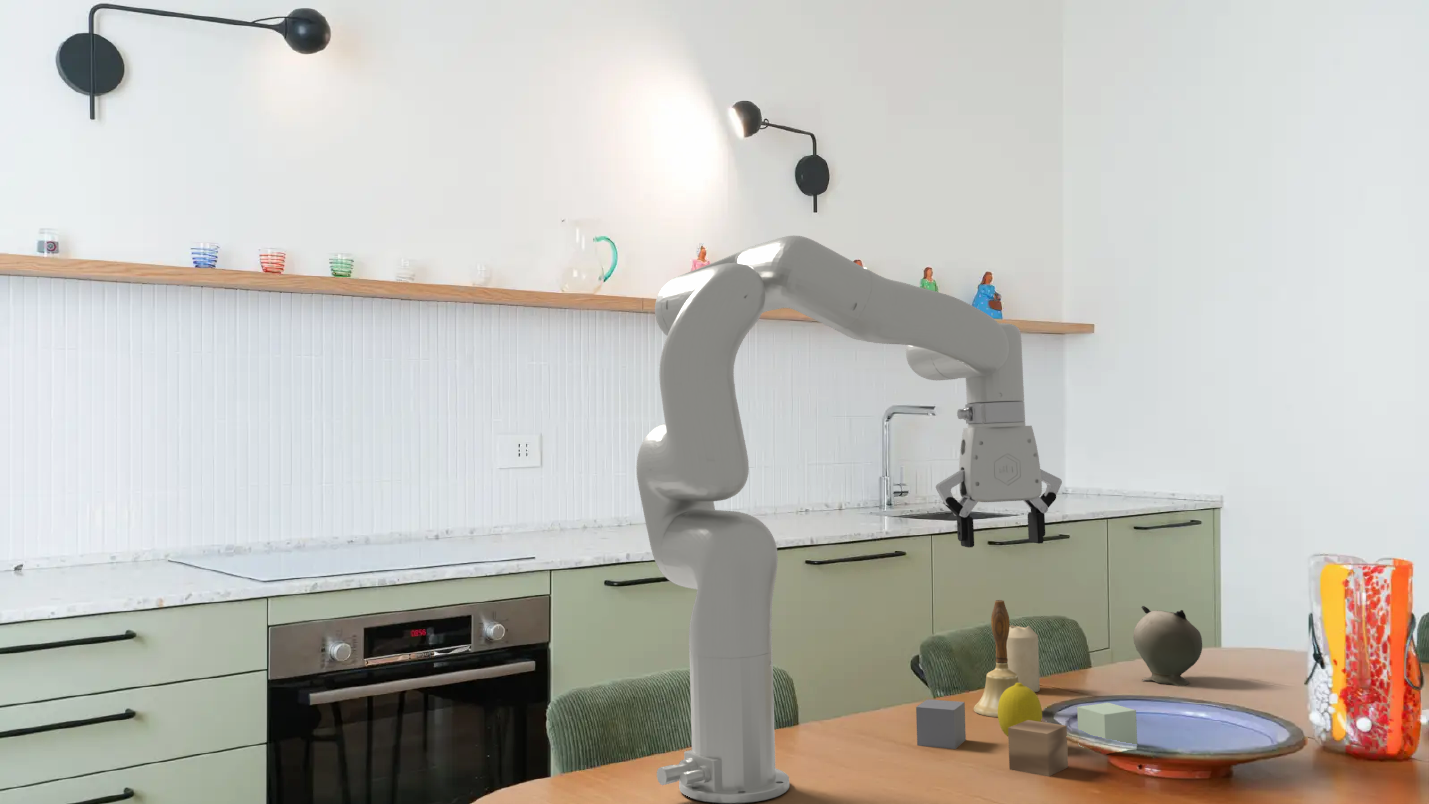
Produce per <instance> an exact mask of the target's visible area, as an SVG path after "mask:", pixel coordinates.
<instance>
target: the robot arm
mask: <svg viewBox="0 0 1429 804" xmlns="http://www.w3.org/2000/svg"><path fill="white" fill-rule="evenodd" d="M784 308H788V309H791V310H794V311H796V312H798V313H800V314H802V315H805V316H806V317H809V318H811V319H813V320H815V321H817V322H819V323H820V324H823V325H825V326H827V327H829V328H830V329H833V330H834V331H837V332H839V333H841V334H843V335H844V336H847V337H849V338H850V339H854V340H856V341H862V342H868V343H874V344H887V345H902V346H903V345H905V346H906V348H905V349H906V350H905V357H906V361H907V364H908V365H909V367H910V368H911V370H912V371H913V372H914V374H917V375H918V376H920V377H921V378H923V379H926V380H929V381H930V380H931V381H949V380H950V381H952V380H957V379H965V390H966V392H965V393H966V404H965V406H964V407H963V408H959V409H957V412H956V414H957V415H956V416H957V419H958V420H964V421H965V423H966V424H967V427H964V428H963V429H962V435H961V442H960V450H959V461H958V462H959V466H958V471H957V472H955V473H953V474H951V475H949V476H948V477H947V478H945V479H943V480H942V481H939V482H938V483H937V484H936V485H935V490H936V491H937V494H938V495H939V496H940V498H941V500H942V503H943V505H944V506H945V507H946V508H947V509H949V510H950V512H952V514H953V515H954V516H956V530H957V531H956V533H957V540H958V541H959V542H960V545H961V547H964V548H969V549H970V548H973V547H975V531H974V530H975V529H974V527H975V526H974V518H973V517H972V516H970V515H971V514H970V513H972V510H974V508H975V506H976V505H977V503H978V502H979V503H997V502H1000V503H1001V502H1020V501H1023V502H1024V503H1025V504H1026V506H1028V508H1029V509H1030V511H1029V512H1028V513H1027V530H1028V531H1027V532H1028V533H1027V534H1028V541H1029V542H1030V543H1034V544H1044V537H1045V535H1046V522H1045V521H1046V520H1045V514H1046V513H1048V511H1049V508H1050V506H1051V505H1052V504H1053V503H1054V502H1055V501H1056V500H1057V494H1058V493H1059V491H1060V488H1061V486H1062V484H1063V481H1062V479H1061V478H1059V477H1058V476H1055V475H1053V474H1051V473H1049V472H1048V471H1046V470H1043V469H1041V464H1040V458H1039V457H1040V456H1039V452H1038V450H1039V449H1038V445H1037V442H1036V436H1035V433H1034V432H1035V431H1034V429H1033V427H1032V426H1033V425H1026V412H1025V411H1026V409H1025V407H1026V406H1025V390H1024V389H1025V388H1024V372H1023V371H1024V370H1023V345H1022V335H1021V330H1020V328H1019V327H1018V326H1016V325H1014V324H1012V323H1004V322H1003V323H1001V322H998V321H997V320H995V318H993V317H992V316H990V315H989V314H987V312H984V311H982V310H981V309H979V308H977V307H975V306H973V305H971V304H970V303H968V302H966V301H964V300H961V299H960V298H957V297H954V296H952V295H949V294H945V293H943V292H939V291H936V290H932V289H928V288H923V287H920V286H916V285H914V284H909V283H905V282H902V281H897V280H893V279H889V278H885V277H884V276H881V275H879V274H878V273H876V272H873V271H872V270H869V269H868V268H867V267H863V266H862V265H860V264H858V263H856V262H854V261H853V260H851V259H848V258H847V257H846V256H843V255H841V254H840V253H838V252H836V251H834V250H832V249H831V248H828V247H826V246H825V245H824V244H822V243H819V242H817V241H815V240H813V239H811V238H808V237H805V236H801V235H785V236H781V237H779V238H778V237H777V238H775V239H772V240H769V241H765V242H762V243H758V244H754V245H752V246H750V247H747V248H745V249H742V250H740V251H738V252H735V253H732V254H731V255H729V256H727V257H724V258H722V259H719V260H716V261H714V262H712V263H710V264H706V265H704V266H701V267H699V268H696V269H694V270H691V271H688V272H686V273H683V274H681V275H678V276H676V277H673V278H672V279H670V280H669V281H667V283H665V284H664V285H663V286H662V288H661V289H660V291H659V292H658V294H657V295H656V300H655V304H654V314H655V315H654V317H655V320H656V322H657V325H658V326H659V329H660V330H661V331H662V332H663V334H664V335H666V338H665V341H664V344H663V348H662V351H661V356H660V361H659V362H660V363H659V387H660V395H661V402H662V404H661V405H662V411H663V417H664V423H663V424H660V425H658V426H655V427H654V428H653V429H652V430H650V431H649V433H648V434H647V435H646V436H645V437H644V439H643V440H642V442H641V444H640V447H639V450H638V453H637V460H636V480H637V486H638V491H639V495H640V496H639V497H640V500H641V507H642V511H643V517H644V522H645V526H646V530H647V535H648V541H649V546H650V550H651V553H652V556H653V559H654V562H655V564H656V567H657V568H658V569H659V571H660V573H661V574H662V575H663V576H664V577H665V579H667V580H668V581H670V582H671V583H673V584H674V585H677V586H679V587H683V588H686V589H687V588H688V589H691V590H696V594H695V600H694V603H693V605H692V606H693V607H692V611H691V616H690V620H689V627H688V648H689V651H688V653H689V676H690V677H689V682H690V683H689V684H690V685H689V687H690V721H691V723H690V724H691V725H690V726H691V749H690V750H686V751H683V754H684V755H683V756H684V757H683V758H684V759H682V760H680V761H679V763H678V764H670V765H666V766H661V767H659V768H657V771H656V778H657V782H658V783H659V785H661V786H664V785H671V784H674V783H677V782H679V783H678V784H679V786H678V789H679V791H680V793H682V795H684V796H685V795H686V797H687V796H688V798H689V797H690V799H692V800H696V801H700V802H706V803H712V804H714V803H715V804H747V803H757V802H761V801H762V802H763V801H767V800H770V799H771V800H772V799H774V798H777V797H779V796H781V795H784V793H786V792H787V791H788V790H789V788H790V776H789V775H788V774H787V773H786V772H785V771H784V770H780V769H779V768H777V767H776V743H775V742H776V740H775V739H776V738H775V709H774V708H775V707H774V706H775V705H774V697H775V696H774V672H773V671H774V669H773V665H774V664H773V662H774V661H773V659H774V658H773V640H772V639H773V638H772V635H773V632H772V631H773V630H772V627H773V626H772V624H773V622H772V619H773V618H772V616H773V615H772V614H773V601H774V599H773V598H774V593H775V591H774V590H775V585H776V579H777V572H778V565H779V557H778V554H779V553H778V547H777V543H776V541H775V540H776V539H775V537H774V535H773V533H772V532H771V531H770V529H769V527H768V526H766V524H765V523H764V522H762V521H761V520H760V519H758V518H756V517H755V516H753V515H751V514H748V513H744V512H740V511H734V510H720V509H719V510H717V509H716V508H715V507H716V506H715V502H720V501H725V500H728V499H730V498H733V497H735V496H736V495H737V494H739V493H740V492H741V491H742V489H744V487H745V485H746V483H747V481H748V478H749V472H750V471H749V468H750V467H749V457H748V455H749V454H748V451H747V446H746V440H745V435H744V430H743V425H742V419H741V416H740V415H741V413H740V411H739V405H738V400H737V394H736V386H735V385H736V384H735V379H734V378H735V377H734V374H735V373H734V369H735V363H736V358H737V354H738V353H739V352H738V351H739V348H740V347H741V345H742V343H743V342H744V340H745V338H746V337H747V335H748V334H749V332H750V331H751V330H752V328H753V327H754V326H755V325H756V324H757V323H758V321H759V320H760V317H761V316H762V314H764V313H767V312H770V311H775V310H781V309H784ZM1043 483H1045V484H1046V488H1045V492H1043V490H1042V489H1043ZM957 485H958V487H959V494H960V497H961V498H960V500H959V501H958V500H957V499H956V498H955V497H954V496H953V494H952V489H953V488H954V487H955V486H957ZM1042 492H1043V493H1042Z"/></svg>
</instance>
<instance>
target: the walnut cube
mask: <svg viewBox="0 0 1429 804" xmlns="http://www.w3.org/2000/svg"><path fill="white" fill-rule="evenodd" d="M1067 731H1068V729H1067V725H1066V724H1058V723H1052V722H1044V721H1042V722H1039V721H1032V720H1027V721H1024V722H1022V723H1019V724H1017V725H1014V726H1011V727H1009V728H1008V736H1007V738H1008V739H1007V740H1008V762H1009V763H1008V766H1009V768H1008V769H1009V771H1015V772H1021V773H1025V774H1032V775H1038V776H1044V777H1051V776H1052V775H1055V774H1057V773H1059V772H1061V771H1063V770H1065V769H1067V768H1069V760H1068V759H1069V758H1068V757H1069V756H1068V754H1069V753H1068V732H1067ZM1066 736H1067V738H1066Z"/></svg>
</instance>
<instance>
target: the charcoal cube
mask: <svg viewBox="0 0 1429 804" xmlns="http://www.w3.org/2000/svg"><path fill="white" fill-rule="evenodd" d="M965 705H966V704H965V701H958V700H957V701H956V700H955V701H954V700H944V699H943V700H940V699H930V698H928V699H927V698H926V700H924V701H922V703H920V704H919V705H917V706H915V711H916V712H915V713H916V715H915V716H916V745H917V746H918V747H919V746H920V747H928V748H930V747H931V748H941V749H950V750H956V749H957V748H958V747H960V746H961V745H962V744H963V743H964V742H966V740H967V737H966V735H967V733H966V708H965Z"/></svg>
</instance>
